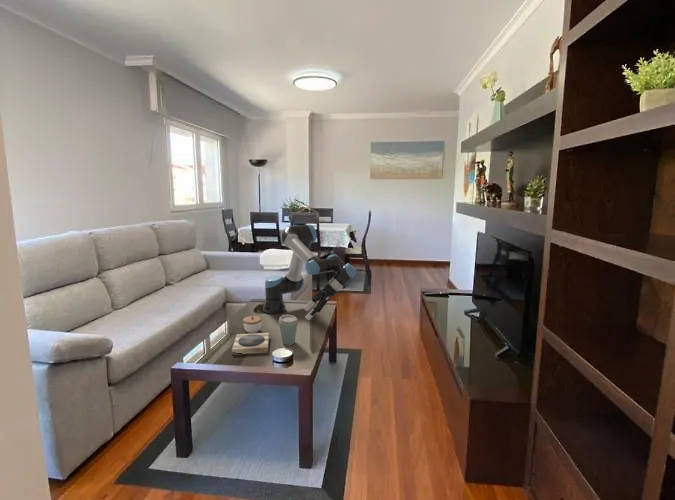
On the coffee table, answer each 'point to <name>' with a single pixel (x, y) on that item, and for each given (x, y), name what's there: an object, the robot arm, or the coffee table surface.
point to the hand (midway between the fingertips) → (305, 314)
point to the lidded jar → (252, 323)
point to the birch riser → (251, 343)
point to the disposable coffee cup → (288, 328)
